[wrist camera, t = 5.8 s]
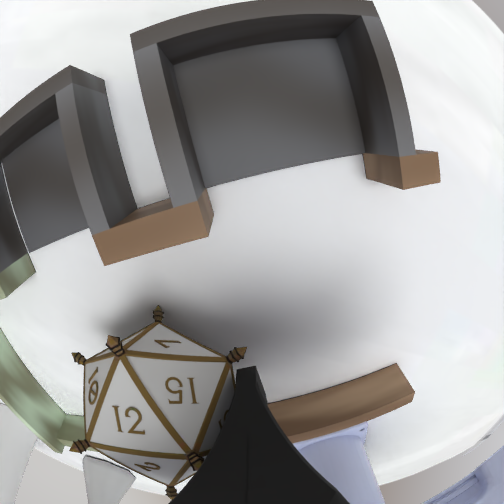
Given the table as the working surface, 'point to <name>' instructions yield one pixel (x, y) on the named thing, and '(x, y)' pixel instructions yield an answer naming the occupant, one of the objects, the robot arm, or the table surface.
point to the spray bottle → (13, 453)
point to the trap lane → (206, 160)
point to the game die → (156, 402)
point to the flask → (105, 481)
